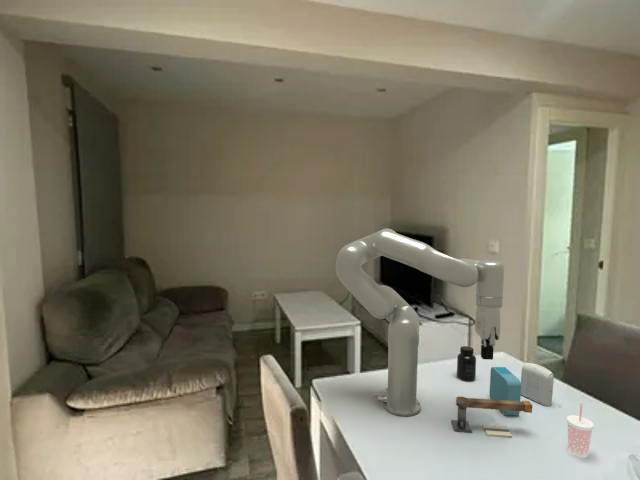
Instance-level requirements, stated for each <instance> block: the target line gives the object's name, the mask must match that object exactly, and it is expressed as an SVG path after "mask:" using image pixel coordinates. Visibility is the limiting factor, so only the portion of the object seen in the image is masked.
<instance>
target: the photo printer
mask: <svg viewBox="0 0 640 480" xmlns="http://www.w3.org/2000/svg"><path fill="white" fill-rule="evenodd" d="M554 379H555V375H554V373H553V372H552V371H551V370H550V369H548V368H546V367H544V366H542V365H539V364H538V363H537V364H536V363H533V362H525V363H523V364H522V367H521V377H520V382H521V396H523V397H525V398H527V399H528V400H532V401H534V402H536V403H538V404H540V405H543V406H544V407H551V405H552V402H553V395H554V394H553V391H554Z"/></svg>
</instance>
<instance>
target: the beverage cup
mask: <svg viewBox="0 0 640 480" xmlns="http://www.w3.org/2000/svg"><path fill="white" fill-rule="evenodd" d="M579 404H580V405H579V415H575V414H572V415H571V414H570V415H567V417H566V423H567V451H568V452H569V454H571V455H572V456H574V457H577V458H582V459H585V458H587V457H588V456H589V451H590V446H591V445H590V444H591V438H592V433H593V432H592V431H593V430H594V427H595V425H594V423H593V421H591V420H590V419H588V418H585V417H583V414H582V413H583V403H579Z"/></svg>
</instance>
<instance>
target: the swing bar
mask: <svg viewBox="0 0 640 480" xmlns="http://www.w3.org/2000/svg"><path fill="white" fill-rule="evenodd" d="M455 401H456V402H455V405H456V407H457V408H458V407H460V408H466V409H468V408H469V409H470V408H471V409H482V410H483V409H484V410H498V411H500V410H511V411H520V412H523V413H527V414H528V413H529V414H533V406H534V405H533V403H531V402H530V401H529V400H520V401H507V400H492V399H489V398H487V399H486V398H476V397H475V398H473V397H466V396H457V397H455Z"/></svg>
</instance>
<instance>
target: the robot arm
mask: <svg viewBox="0 0 640 480" xmlns="http://www.w3.org/2000/svg"><path fill="white" fill-rule="evenodd" d="M382 256H383V257H385V258H388V259H390V260H393V261H395V262H399V263H401V264H403V265H405V266H406V265H407V266H409V267H412V268H414V269H416V270H419V271H420V272H423V273H425V274H427V275H430V276H432V277H433V278H436V279H438V280H441V281H444V282H446V283H449V284H452V285H453V286H458V287H461V288H469V287H470V288H471V287H473V286H474V285H475V284H476V287H475V288H476V289H475V290H476V291H475V293H476V294H475V305H476V309H475V318H474V319H475V321H474V331H475V333H476V334H477V335H478V336H479V337H480V344H481V345H480V357H481V359H482V360H490V361H492V360H494V348H495V346H496V341H499V340H500V338H501V308H502V307H503V303H504V302H503V299H504V296H503V295H504V278H505V277H504V276H505V275H504V273H505V266H504V263H503V262H502V261H498V260H492V259H491V260H490V259H489V260H488V259H487V260H486V259H485V260H478V259H472V258H471V259H470V258H465V257H464V258H463V257H461V258H455V257H451V256H449V255H447V254H446V253H442V252H440V251H438V250H436V249H435V248H433V247H432V246H431V245H429V244H427V243H425V242H423V241H420V240H417V239H413V238H412V237H411V238H410V237H408V236H405V235H402V234H400V233H397V232H396V231H395V230H393V229H391V228H387V227H386V228H382V229H380V230H378V231H376V232H374V233H371V234H369V235H367V236H364V237H362V238H359V239H357V240H355V241H352V242H350V243H348V244H346V245H344V246H343V247H342V248H341V249H340V250H339V252H338V254H337V257H336V258H335V259H336V260H335V272H336V276H337V278H338V280H339V282H340V283H341V284H342V285H343V286H344V288H346V290H348V291H349V293H350V294H351V295H352V296H353V297H354V298H355V299H356V300H357V301H358V302H359V303H360V304H361V305H362V306H363V308H365V309H366V310H367V311H368V313H370V314H371V316H373V317H374V318H376V319H378V320H383V319H386V321H387V322H388V323H389V324H388V329H387V331H388V332H387V343H388V344H387V345H388V349H387V351H388V356H387V361H388V362H387V363H388V364H387V387H386V389H385V391H373V398H375V399H376V398H377V401H379V402H382V407H383V409H384V410H386V412H389V413H391V414H392V415H396V416H401V417H410V416H415V415H417V414H419V413H420V412H421V410H422V404H421V401H419V400H418V399H417V394H418V393H417V392H418V391H417V390H418V387H417V386H418V364H419V363H418V361H419V360H418V359H419V356H418V355H419V339H420V338H419V334H420V317H419V315H418V313H417V312H416V310H415V309H414V308H413V307H412V306H411V305H410V304H409V303H408V302H407V301H406V300H405V299H404V298H403V297H402V296H401V295H400V294H399V293H398V292H397V291H396V290H394V288H392V287H390V286H388V285H381V284H380V285H379V283H377V282H376V281H375V280H374V279H373V278H372V277H371V276H370V275H369V274H368V273H366V272H365V271H364V270H363V268H362V266H363V265H364V264H365V263H367V262H370V261H372V260H375V259H378V258H379V257H382Z"/></svg>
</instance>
